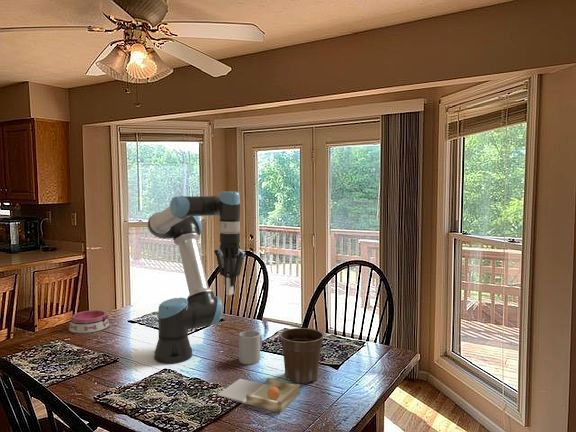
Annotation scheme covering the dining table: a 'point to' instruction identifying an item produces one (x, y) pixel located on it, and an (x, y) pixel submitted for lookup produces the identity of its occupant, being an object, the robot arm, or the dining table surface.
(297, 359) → the plant pot
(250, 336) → the mug
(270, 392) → the ball
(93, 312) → the dog bowl
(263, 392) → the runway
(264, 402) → the fence
